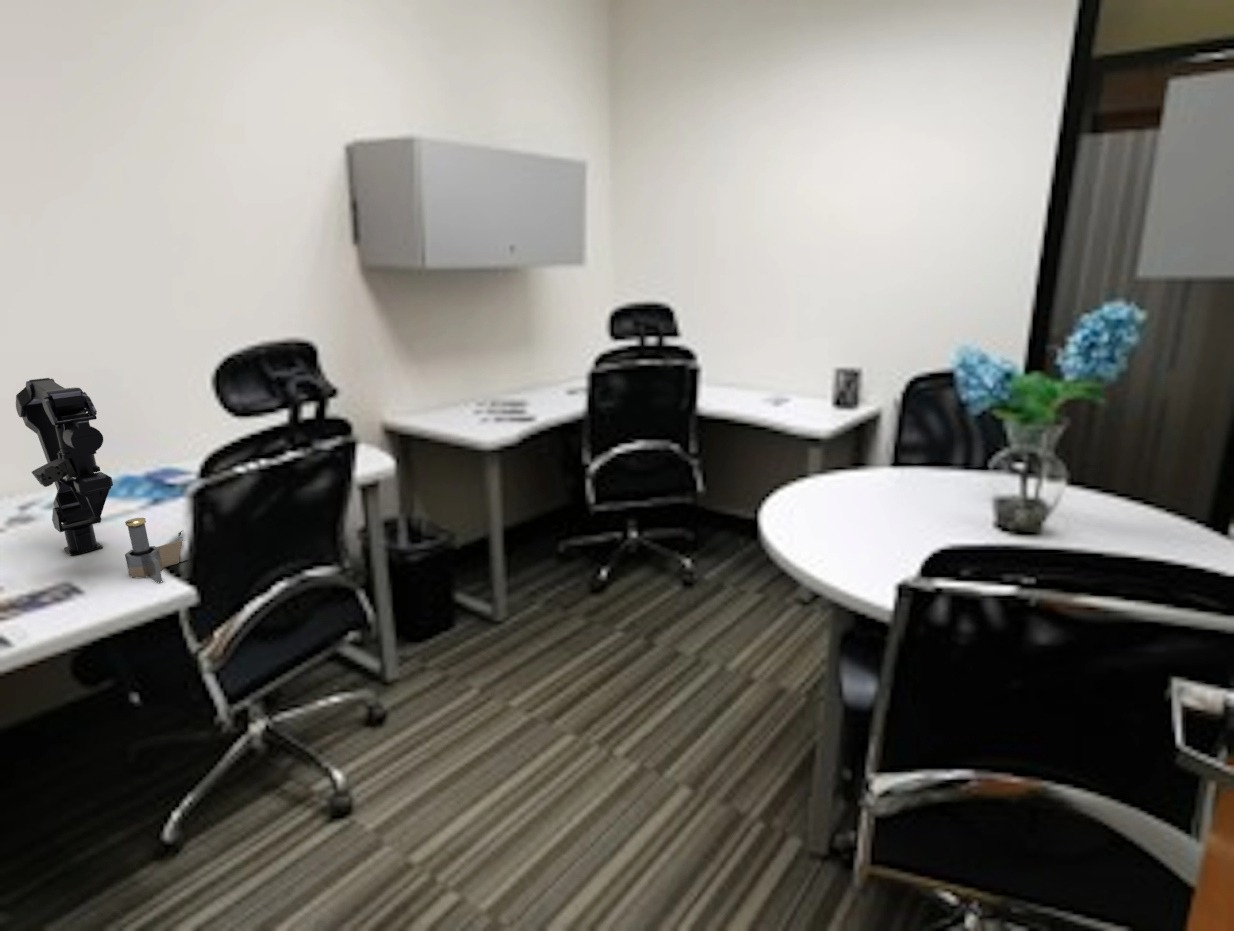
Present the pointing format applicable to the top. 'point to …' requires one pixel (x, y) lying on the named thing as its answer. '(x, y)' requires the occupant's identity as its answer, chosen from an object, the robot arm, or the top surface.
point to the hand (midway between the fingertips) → (91, 512)
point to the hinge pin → (138, 536)
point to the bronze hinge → (153, 560)
